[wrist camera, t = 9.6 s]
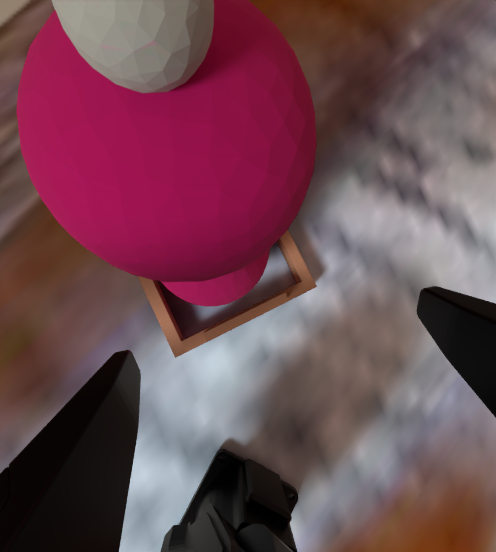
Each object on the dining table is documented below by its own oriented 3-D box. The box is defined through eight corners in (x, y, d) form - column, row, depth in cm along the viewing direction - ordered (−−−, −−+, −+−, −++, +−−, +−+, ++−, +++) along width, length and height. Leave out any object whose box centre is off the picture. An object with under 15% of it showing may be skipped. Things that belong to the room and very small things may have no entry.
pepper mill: (253, 207, 23) (420, -409, 3) (267, 298, 22) (581, 257, 3) (160, 218, 22) (-363, -453, 3) (172, 312, 22) (-402, 397, 2)
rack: (310, 288, 23) (323, 285, 20) (178, 354, 22) (171, 361, 19) (192, 53, 24) (187, 17, 21) (62, 103, 23) (37, 73, 20)
